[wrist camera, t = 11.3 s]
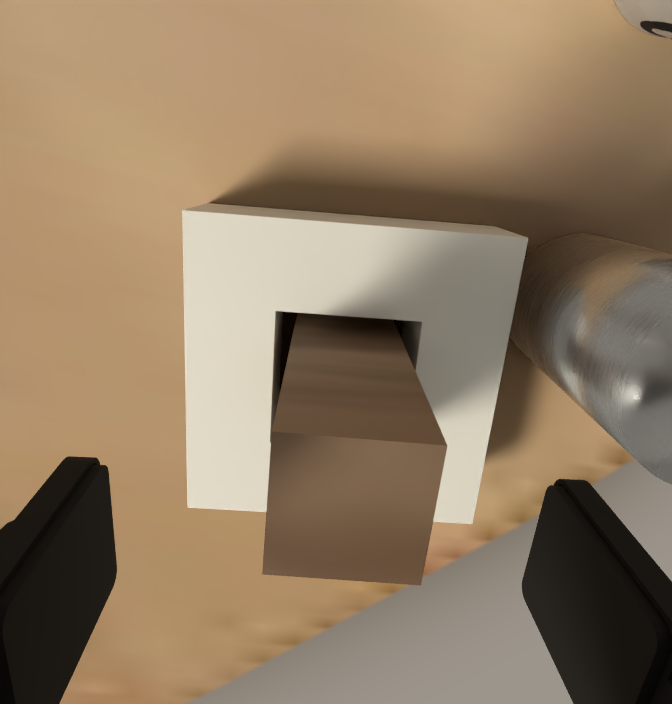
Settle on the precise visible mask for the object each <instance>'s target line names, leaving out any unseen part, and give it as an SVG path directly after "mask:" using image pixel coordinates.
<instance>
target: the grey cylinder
mask: <svg viewBox="0 0 672 704" xmlns="http://www.w3.org/2000/svg"><path fill="white" fill-rule="evenodd" d="M509 336H510V338H511V339H512V341H513V342H514V344H515V345H516V346H517V347H518V348H519V349H520V350H521V351H522V352H523V353H524V354H525V355H526V356H527V357H528V358H529V359H530V360H531V361H532V362H533V363H534V364H535V365H536V366H538V367H539V368H540V369H541V370H542V371H543V372H544V373H545V374H546V375H547V376H548V377H549V378H550V379H551V380H552V381H553V382H554V383H556V384H557V385H558V386H559V387H560V388H561V389H562V390H563V391H564V392H565V393H566V394H567V395H568V396H569V397H570V398H571V399H572V400H573V401H575V402H576V403H577V404H578V405H579V406H580V407H581V408H582V409H583V410H584V411H585V412H586V413H587V414H588V415H589V416H590V417H591V418H593V419H594V420H595V421H596V422H597V423H598V424H599V425H600V426H601V427H602V428H603V429H604V430H605V431H606V432H607V433H608V434H609V435H610V436H612V437H613V438H614V439H615V440H616V441H617V442H618V443H619V444H620V445H621V446H622V447H623V448H624V449H625V450H626V451H627V452H628V453H630V454H631V455H632V456H633V457H634V458H635V459H636V460H637V461H638V462H639V463H640V464H641V465H642V466H643V467H644V468H646V469H647V470H648V471H649V472H651V473H652V474H653V475H655V476H656V477H658V478H660V479H661V480H663V481H665V482H668V483H670V484H672V254H671V253H667V252H663V251H659V250H655V249H651V248H647V247H643V246H638V245H634V244H630V243H626V242H622V241H618V240H614V239H610V238H606V237H602V236H598V235H593V234H582V233H577V234H569V235H564V236H561V237H557V238H555V239H552V240H550V241H548V242H546V243H544V244H542V245H541V246H539V247H538V248H536V249H535V250H533V251H532V252H531V253H530V254H529V255H528V256H527V257H526V258H525V259H524V263H523V268H522V273H521V278H520V283H519V289H518V294H517V299H516V304H515V309H514V314H513V319H512V324H511V329H510V334H509Z"/></svg>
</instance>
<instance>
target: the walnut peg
mask: <svg viewBox="0 0 672 704" xmlns="http://www.w3.org/2000/svg"><path fill="white" fill-rule="evenodd" d="M446 451H447V443H446V441H445V439H444V437H443V434H442V432H441V430H440V427H439V425H438V423H437V420H436V418H435V416H434V413H433V411H432V409H431V406H430V404H429V402H428V399H427V397H426V395H425V392H424V390H423V388H422V386H421V383H420V381H419V379H418V376H417V374H416V372H415V369H414V367H413V365H412V362H411V360H410V358H409V355H408V353H407V351H406V348H405V346H404V344H403V341H402V339H401V337H400V335H399V332H398V330H397V328H396V325H395V323H394V321H393V320H392V319H379V318H365V317H351V316H338V315H324V314H310V313H297V317H296V322H295V326H294V331H293V336H292V340H291V345H290V349H289V354H288V359H287V363H286V368H285V372H284V377H283V382H282V386H281V391H280V396H279V400H278V405H277V409H276V414H275V419H274V423H273V428H272V435H271V450H270V466H269V481H268V496H267V511H266V527H265V542H264V557H263V573H262V574H265V575H279V576H294V577H308V578H323V579H337V580H352V581H366V582H381V583H395V584H410V585H421V582H422V577H423V571H424V566H425V561H426V556H427V551H428V545H429V540H430V535H431V530H432V524H433V519H434V514H435V509H436V503H437V498H438V493H439V488H440V482H441V477H442V472H443V467H444V461H445V456H446Z"/></svg>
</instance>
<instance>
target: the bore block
mask: <svg viewBox="0 0 672 704" xmlns="http://www.w3.org/2000/svg"><path fill="white" fill-rule="evenodd" d="M182 211H183V270H184V329H185V388H186V447H187V505H188V508H206V509H223V510H240V511H257V512H266V511H267V496H268V481H269V466H270V450H271V435H272V428H273V423H274V419H275V414H276V409H277V405H278V400H279V389H280V368H281V347H282V325H283V312H296V313H310V314H324V315H338V316H351V317H365V318H379V319H392V320H404V325H403V333H402V341H403V344H404V346H405V348H406V351H407V353H408V355H409V358H410V360H411V362H412V365H413V367H414V369H415V372H416V374H417V376H418V379H419V381H420V383H421V386H422V388H423V390H424V392H425V395H426V397H427V399H428V402H429V404H430V406H431V409H432V411H433V413H434V416H435V418H436V420H437V423H438V425H439V427H440V430H441V432H442V434H443V437H444V439H445V441H446V443H447V451H446V456H445V461H444V467H443V472H442V477H441V482H440V488H439V493H438V498H437V503H436V509H435V514H434V519H433V522H447V523H464V524H472V522H473V517H474V512H475V507H476V502H477V497H478V492H479V487H480V482H481V476H482V471H483V466H484V461H485V456H486V451H487V446H488V441H489V436H490V431H491V426H492V421H493V415H494V410H495V405H496V400H497V395H498V390H499V385H500V380H501V375H502V370H503V365H504V360H505V355H506V349H507V344H508V339H509V334H510V329H511V324H512V319H513V314H514V309H515V304H516V299H517V294H518V289H519V283H520V278H521V273H522V268H523V263H524V258H525V253H526V248H527V243H528V238H527V237H525V236H522V235H519V234H516V233H513V232H510V231H507V230H504V229H501V228H498V227H495V226H486V225H473V224H461V223H449V222H436V221H424V220H411V219H399V218H386V217H374V216H362V215H349V214H337V213H324V212H312V211H299V210H287V209H275V208H262V207H250V206H237V205H225V204H212V203H207V204H203V205H200V206H196V207H192V208H189V209H185V210H182Z"/></svg>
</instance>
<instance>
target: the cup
mask: <svg viewBox="0 0 672 704" xmlns="http://www.w3.org/2000/svg"><path fill="white" fill-rule="evenodd" d="M614 1H615V3H616V5H617V7H618V9H619V11H620V12H621V14H622V15H623V17H624V18H625V19H626V20H627V21H628V22H629V23H630V24H631V25H632V26H634V27H635V28H637V29H638V30H640V31H642V32H644V33H647V34H650V35H654V36H659V37H665V38H670V39H672V0H614Z"/></svg>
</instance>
